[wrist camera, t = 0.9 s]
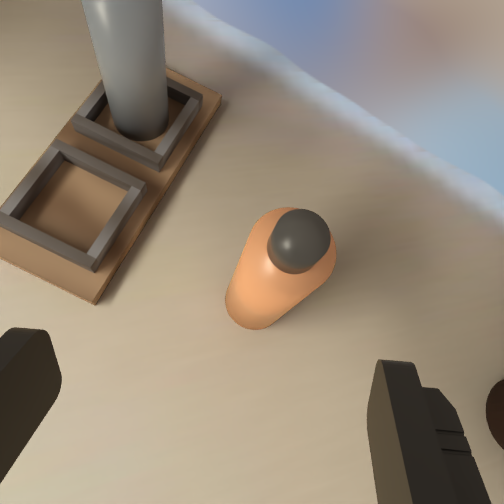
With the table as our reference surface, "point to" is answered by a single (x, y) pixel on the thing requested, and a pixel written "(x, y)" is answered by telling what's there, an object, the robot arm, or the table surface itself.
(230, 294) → the orange bottle
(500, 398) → the coffee mug
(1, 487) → the table surface
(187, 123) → the wooden bottle rack
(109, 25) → the grey bottle
